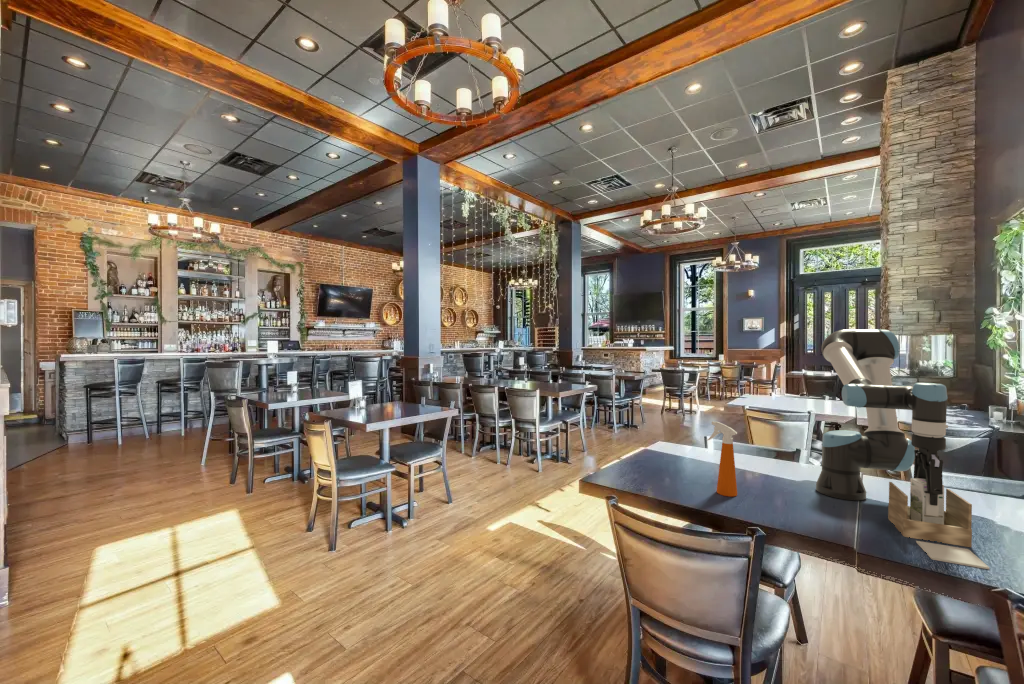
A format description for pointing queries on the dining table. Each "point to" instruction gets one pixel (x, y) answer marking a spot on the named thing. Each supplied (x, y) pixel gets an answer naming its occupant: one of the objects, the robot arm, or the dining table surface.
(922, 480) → the syrup box
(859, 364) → the robot arm
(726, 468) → the spray bottle
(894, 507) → the wooden holder
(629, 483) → the dining table surface
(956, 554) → the mat
